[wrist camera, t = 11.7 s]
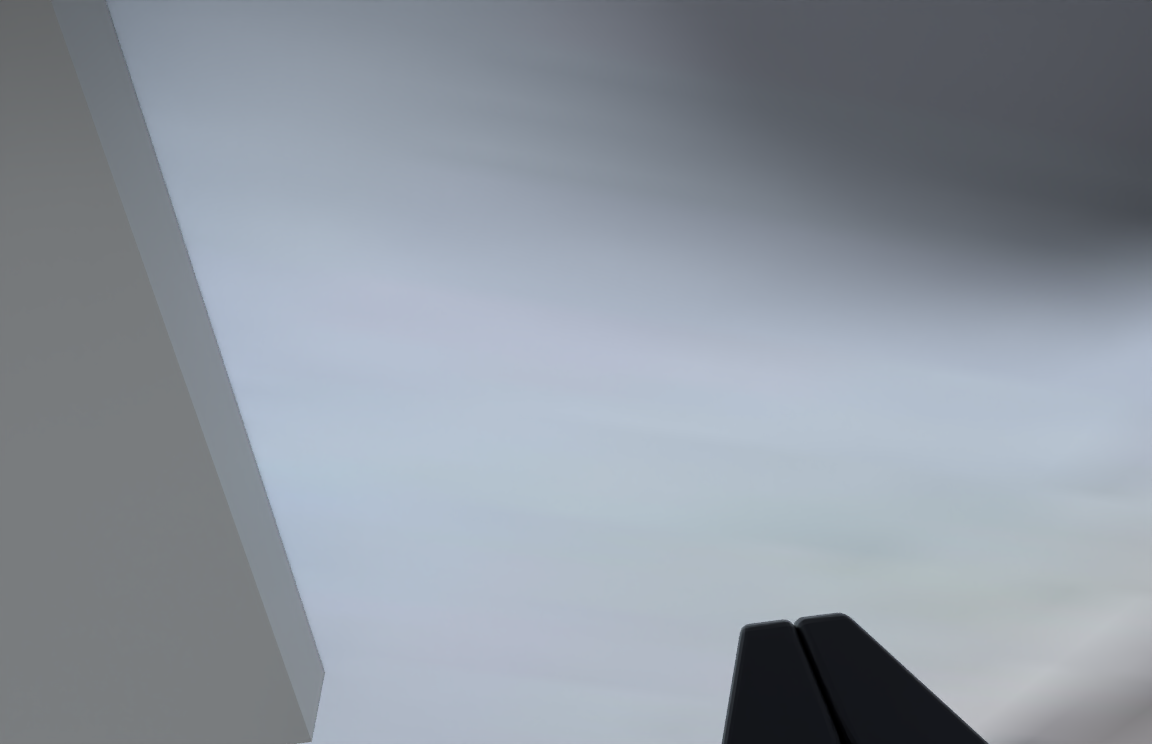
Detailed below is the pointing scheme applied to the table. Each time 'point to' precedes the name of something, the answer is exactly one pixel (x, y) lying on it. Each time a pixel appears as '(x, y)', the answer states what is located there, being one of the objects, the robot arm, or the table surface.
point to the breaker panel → (122, 436)
